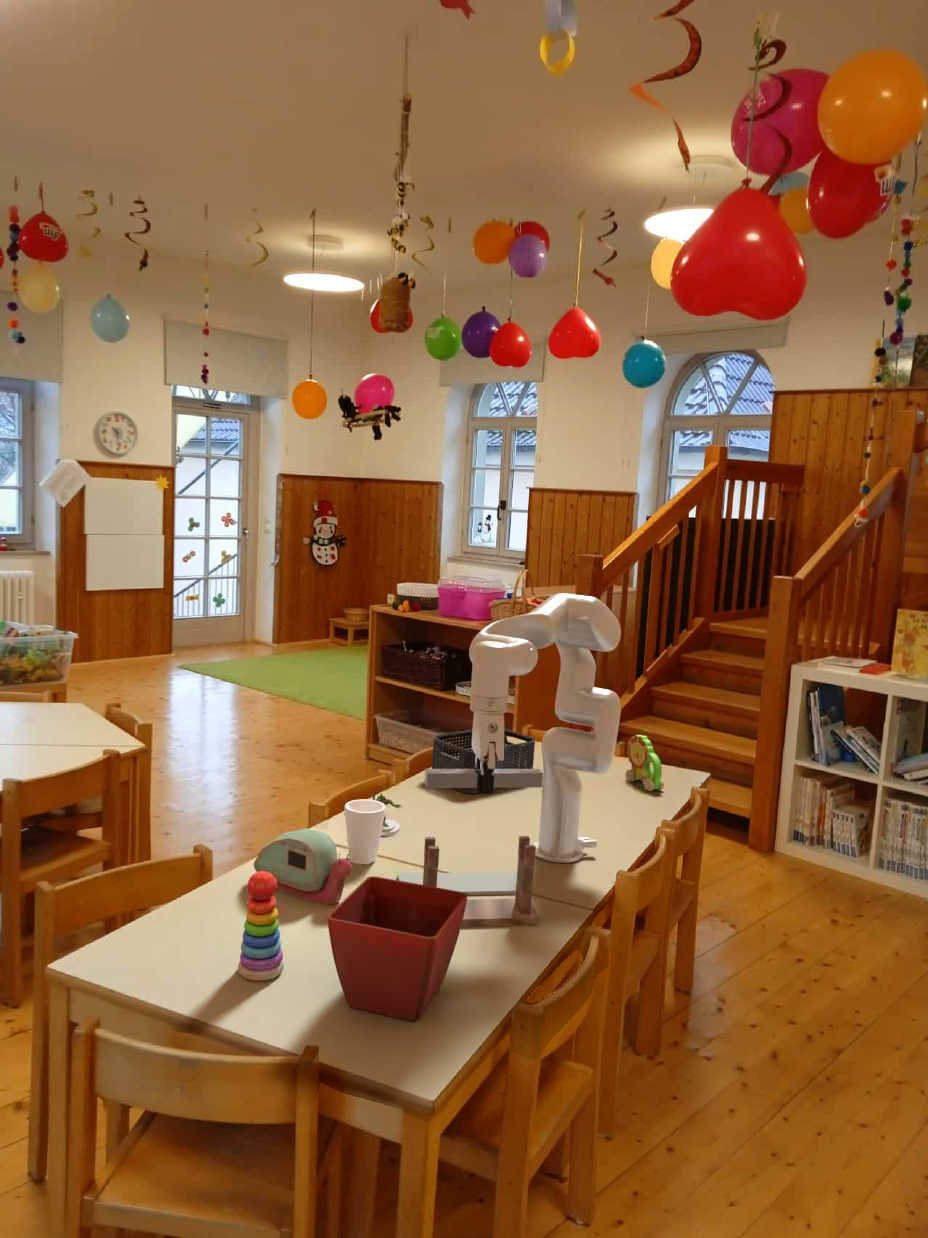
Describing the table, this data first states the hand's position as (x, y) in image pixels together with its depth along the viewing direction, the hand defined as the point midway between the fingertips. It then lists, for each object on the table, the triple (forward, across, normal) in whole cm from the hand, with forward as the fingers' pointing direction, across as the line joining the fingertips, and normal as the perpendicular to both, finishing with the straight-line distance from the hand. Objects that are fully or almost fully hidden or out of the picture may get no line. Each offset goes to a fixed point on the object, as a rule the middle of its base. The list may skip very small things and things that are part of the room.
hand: (483, 789), depth 192 cm
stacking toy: (+27, -20, +43) cm, 55 cm away
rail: (-1, 0, 0) cm, 1 cm away
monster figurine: (+27, +50, +16) cm, 59 cm away
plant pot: (+27, -30, +20) cm, 45 cm away
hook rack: (+27, -1, 0) cm, 27 cm away
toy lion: (+28, +85, -70) cm, 114 cm away
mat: (+27, +14, 0) cm, 30 cm away
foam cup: (+27, +30, +21) cm, 45 cm away
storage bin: (+28, +90, -20) cm, 96 cm away
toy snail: (+27, +12, +35) cm, 46 cm away
